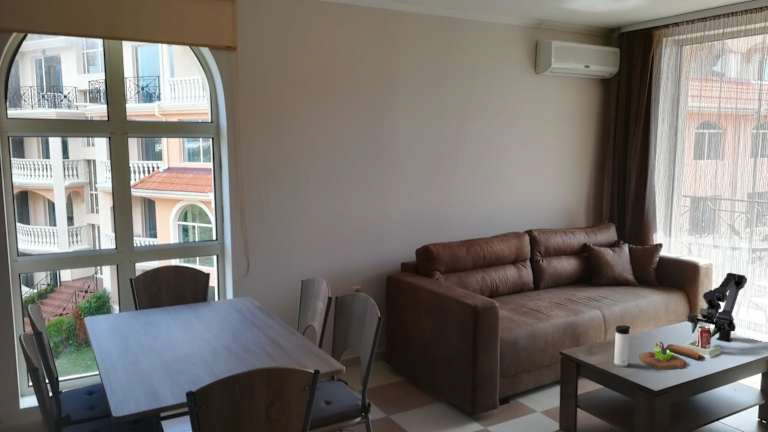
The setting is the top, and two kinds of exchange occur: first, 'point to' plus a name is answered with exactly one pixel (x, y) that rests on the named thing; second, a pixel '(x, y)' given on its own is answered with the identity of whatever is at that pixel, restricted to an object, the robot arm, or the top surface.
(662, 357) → the plant
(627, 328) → the travel mug
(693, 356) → the sunglasses case
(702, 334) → the soda can
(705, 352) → the can rack
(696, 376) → the top surface
